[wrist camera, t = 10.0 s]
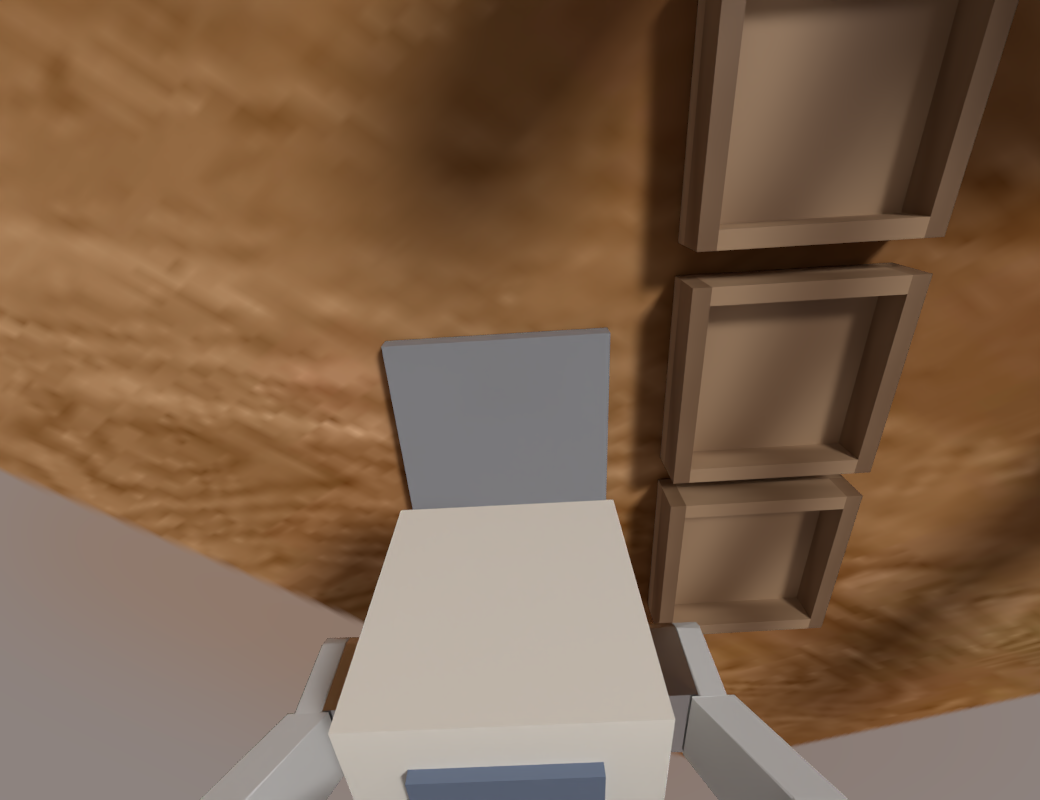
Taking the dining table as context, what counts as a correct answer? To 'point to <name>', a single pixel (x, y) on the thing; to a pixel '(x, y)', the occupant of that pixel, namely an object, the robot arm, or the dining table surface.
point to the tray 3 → (749, 551)
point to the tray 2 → (785, 369)
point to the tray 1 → (833, 118)
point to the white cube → (506, 663)
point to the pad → (502, 417)
